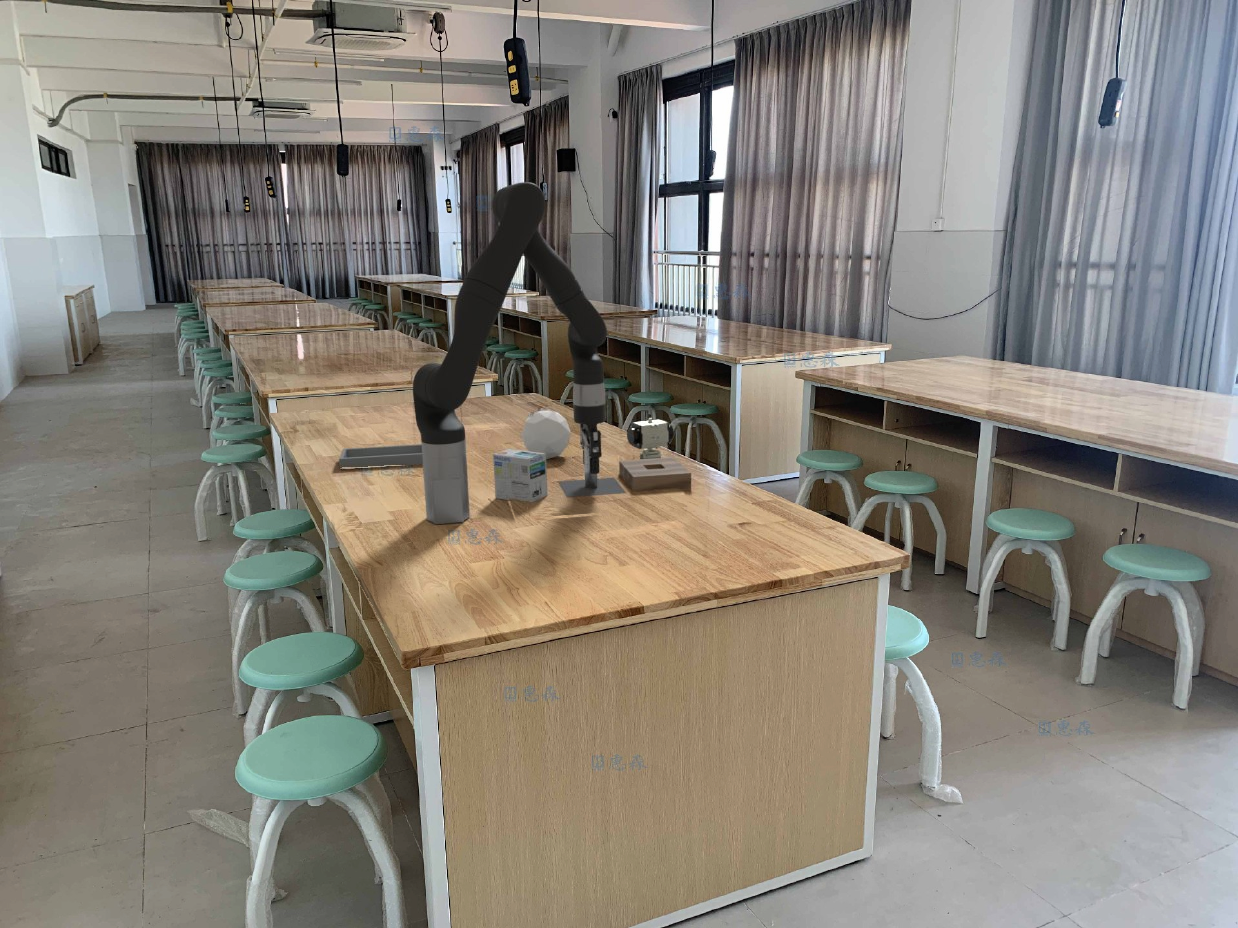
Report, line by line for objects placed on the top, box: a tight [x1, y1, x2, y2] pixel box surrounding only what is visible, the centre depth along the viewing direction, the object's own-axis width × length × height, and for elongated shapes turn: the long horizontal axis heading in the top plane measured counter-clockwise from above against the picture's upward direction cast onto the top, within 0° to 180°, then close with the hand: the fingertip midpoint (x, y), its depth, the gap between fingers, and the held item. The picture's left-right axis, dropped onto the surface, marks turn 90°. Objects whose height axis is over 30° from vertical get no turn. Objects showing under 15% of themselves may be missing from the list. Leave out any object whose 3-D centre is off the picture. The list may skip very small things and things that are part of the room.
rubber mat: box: [557, 477, 627, 498], centre depth 215 cm, size 14×14×1 cm
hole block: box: [618, 456, 692, 492], centre depth 220 cm, size 16×14×4 cm
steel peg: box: [583, 446, 598, 489], centre depth 214 cm, size 3×3×10 cm
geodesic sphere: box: [520, 407, 572, 460], centre depth 245 cm, size 14×14×14 cm
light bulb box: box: [492, 448, 549, 503], centre depth 207 cm, size 11×7×11 cm, turn 59°
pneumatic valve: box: [626, 417, 675, 459], centre depth 237 cm, size 6×12×12 cm, turn 116°
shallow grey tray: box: [338, 443, 423, 469], centre depth 244 cm, size 12×23×3 cm, turn 102°
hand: (591, 469), depth 214 cm, fingers open, 8 cm apart
